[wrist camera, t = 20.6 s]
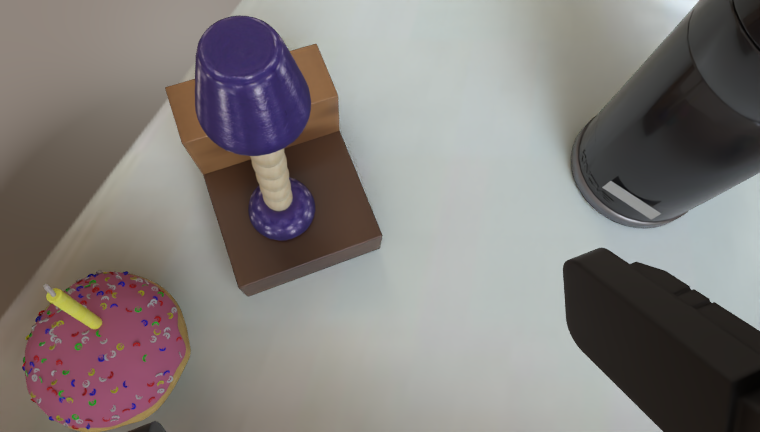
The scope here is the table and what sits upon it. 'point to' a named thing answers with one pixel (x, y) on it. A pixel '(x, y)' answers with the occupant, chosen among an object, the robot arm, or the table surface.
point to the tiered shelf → (305, 163)
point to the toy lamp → (256, 115)
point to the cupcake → (105, 351)
